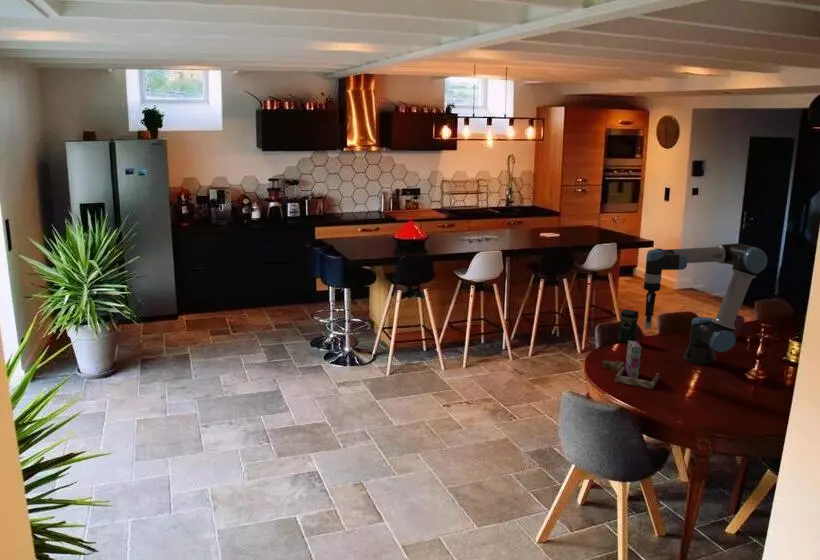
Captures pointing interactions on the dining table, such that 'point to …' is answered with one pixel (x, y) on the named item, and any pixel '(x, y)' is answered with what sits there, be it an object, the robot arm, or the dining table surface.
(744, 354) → the dining table surface
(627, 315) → the coffee jar
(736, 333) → the plant pot
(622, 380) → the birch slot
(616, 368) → the walnut T block
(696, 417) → the dining table surface
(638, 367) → the candy bar box
